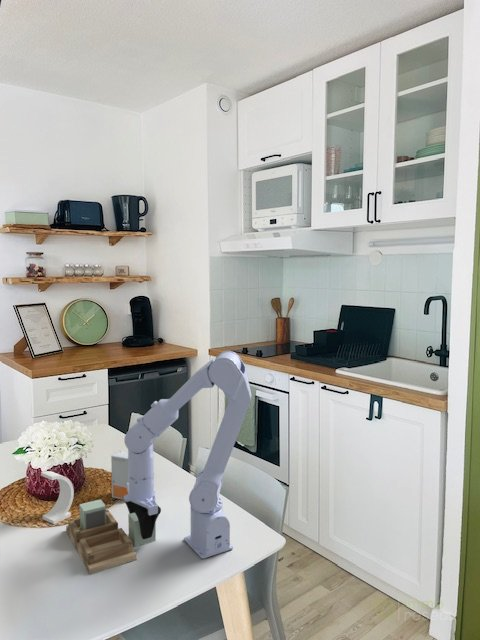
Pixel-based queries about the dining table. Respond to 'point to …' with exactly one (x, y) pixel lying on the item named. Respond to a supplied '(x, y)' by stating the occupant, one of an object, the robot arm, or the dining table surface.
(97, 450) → the dining table surface
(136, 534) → the finger block
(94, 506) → the seated block
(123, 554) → the compartment tray
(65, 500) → the headphone stand
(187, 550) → the dining table surface
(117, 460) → the skincare box
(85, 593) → the dining table surface
